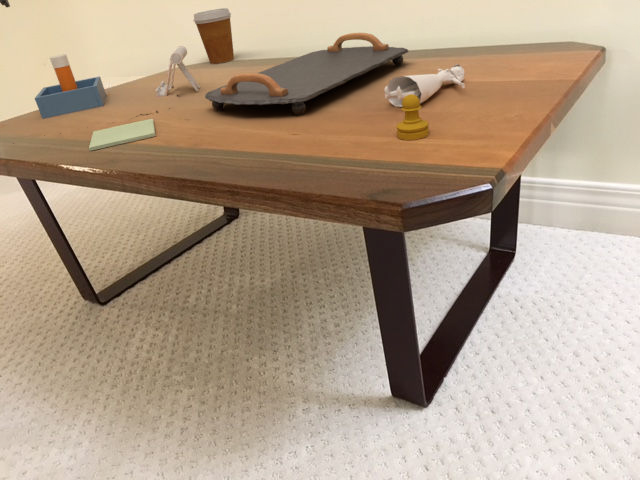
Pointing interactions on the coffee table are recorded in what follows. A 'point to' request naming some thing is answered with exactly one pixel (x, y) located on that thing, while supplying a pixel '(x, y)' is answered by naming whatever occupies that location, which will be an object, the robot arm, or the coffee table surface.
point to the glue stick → (63, 72)
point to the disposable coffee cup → (216, 34)
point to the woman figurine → (422, 84)
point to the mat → (122, 134)
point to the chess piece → (412, 120)
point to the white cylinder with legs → (175, 59)
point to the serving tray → (306, 75)
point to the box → (71, 98)
